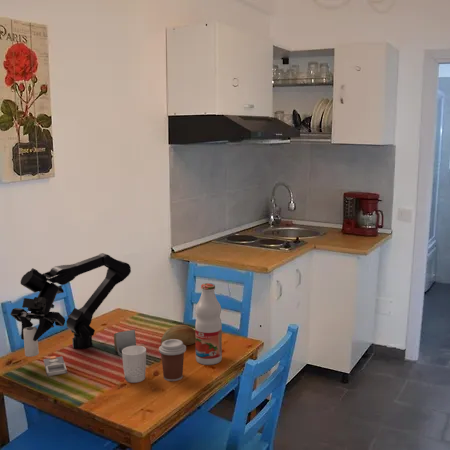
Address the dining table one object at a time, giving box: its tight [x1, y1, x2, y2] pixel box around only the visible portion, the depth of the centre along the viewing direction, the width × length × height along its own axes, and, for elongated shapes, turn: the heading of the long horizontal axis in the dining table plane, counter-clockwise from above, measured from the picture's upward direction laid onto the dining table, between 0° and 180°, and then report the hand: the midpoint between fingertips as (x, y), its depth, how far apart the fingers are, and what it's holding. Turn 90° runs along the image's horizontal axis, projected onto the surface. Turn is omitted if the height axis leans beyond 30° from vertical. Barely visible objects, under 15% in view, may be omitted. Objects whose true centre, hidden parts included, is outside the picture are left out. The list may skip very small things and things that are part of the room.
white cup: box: [121, 345, 147, 384], centre depth 180 cm, size 8×8×10 cm
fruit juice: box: [194, 282, 223, 366], centre depth 193 cm, size 9×9×28 cm
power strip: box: [43, 355, 68, 377], centre depth 187 cm, size 15×6×2 cm, turn 23°
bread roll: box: [160, 324, 196, 347], centre depth 208 cm, size 10×15×8 cm, turn 117°
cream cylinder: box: [23, 326, 40, 358], centre depth 184 cm, size 4×4×9 cm
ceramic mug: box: [113, 329, 137, 358], centre depth 202 cm, size 11×8×8 cm
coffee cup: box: [158, 339, 187, 382], centre depth 181 cm, size 9×9×12 cm
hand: (28, 339), depth 183 cm, fingers closed on cream cylinder, 4 cm apart
